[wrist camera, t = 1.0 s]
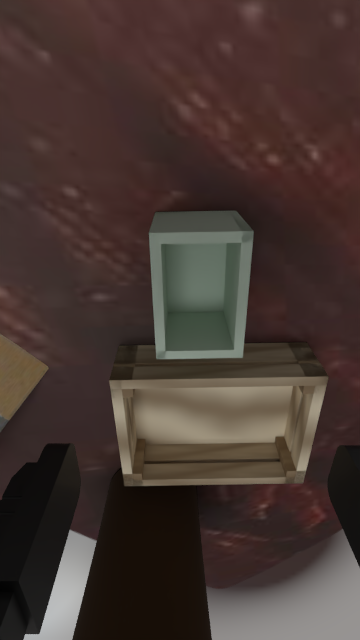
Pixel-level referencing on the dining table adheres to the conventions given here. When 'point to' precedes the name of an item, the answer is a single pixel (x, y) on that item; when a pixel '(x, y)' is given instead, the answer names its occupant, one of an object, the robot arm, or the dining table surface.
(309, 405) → the big crate
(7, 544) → the robot arm
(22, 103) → the dining table surface
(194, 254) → the box
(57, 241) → the dining table surface
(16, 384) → the sandwich container
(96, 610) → the olive oil
